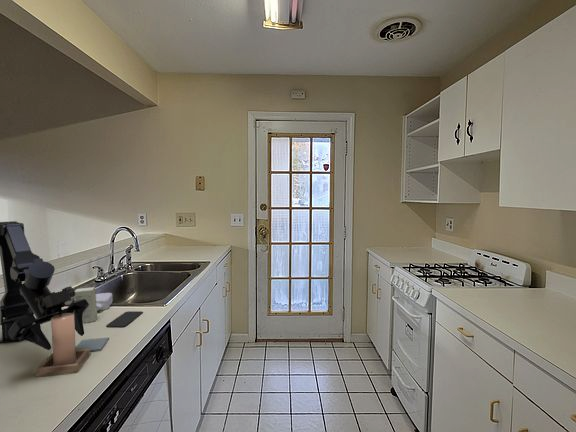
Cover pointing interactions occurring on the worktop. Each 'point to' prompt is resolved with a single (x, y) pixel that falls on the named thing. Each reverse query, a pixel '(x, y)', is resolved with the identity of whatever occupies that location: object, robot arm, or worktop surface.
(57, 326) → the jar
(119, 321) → the phone
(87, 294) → the skincare box
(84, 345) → the mat
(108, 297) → the charger
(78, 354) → the holder
